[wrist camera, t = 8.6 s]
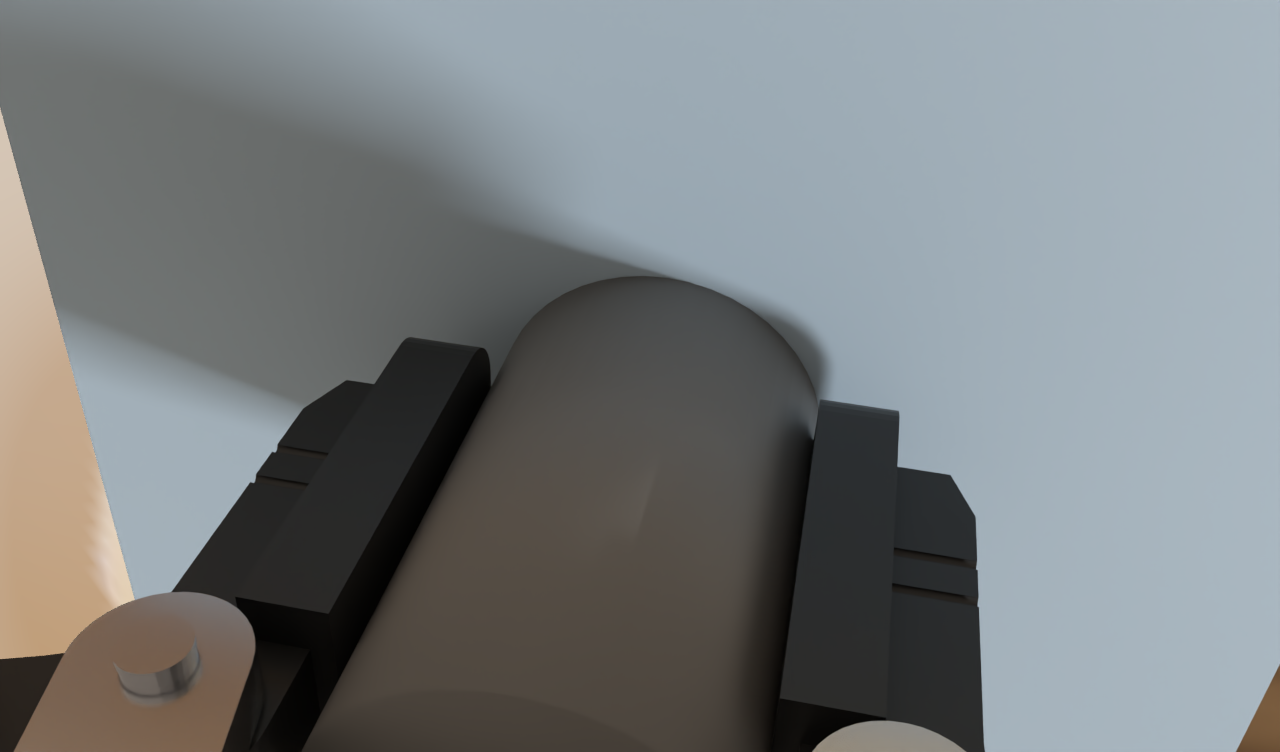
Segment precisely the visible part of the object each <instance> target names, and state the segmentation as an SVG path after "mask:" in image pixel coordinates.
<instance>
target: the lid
mask: <svg viewBox="0 0 1280 752" xmlns="http://www.w3.org/2000/svg"><path fill="white" fill-rule="evenodd" d="M0 108H1V112H2V115H3V119H4V123H5V127H6V130H7V134H8V138H9V141H10V145H11V148H12V152H13V156H14V159H15V163H16V167H17V171H18V174H19V178H20V181H21V185H22V189H23V192H24V196H25V199H26V203H27V207H28V211H29V214H30V218H31V221H32V225H33V229H34V233H35V236H36V240H37V243H38V247H39V251H40V255H41V258H42V262H43V265H44V269H45V272H46V276H47V280H48V284H49V287H50V291H51V295H52V298H53V302H54V306H55V309H56V313H57V317H58V320H59V323H60V328H61V331H62V335H63V339H64V342H65V346H66V349H67V353H68V357H69V360H70V364H71V368H72V371H73V375H74V378H75V382H76V386H77V390H78V393H79V397H80V400H81V404H82V408H83V412H84V415H85V419H86V423H87V426H88V430H89V433H90V437H91V441H92V444H93V448H94V452H95V455H96V459H97V463H98V466H99V470H100V474H101V477H102V481H103V485H104V488H105V492H106V496H107V499H108V503H109V507H110V510H111V514H112V517H113V521H114V525H115V528H116V532H117V536H118V539H119V543H120V547H121V550H122V554H123V558H124V561H125V565H126V569H127V572H128V576H129V580H130V583H131V587H132V591H133V594H134V598H135V600H136V599H139V598H143V597H147V596H151V595H155V594H162V593H169V592H172V590H173V589H174V588H175V586H176V585H177V583H178V582H179V581H180V579H181V578H182V576H183V575H184V574H185V572H186V571H187V569H188V568H189V567H190V565H191V564H192V562H193V561H194V560H195V558H196V557H197V556H198V554H199V553H200V551H201V550H202V549H203V547H204V546H205V544H206V543H207V542H208V540H209V539H210V537H211V536H212V535H213V533H214V532H215V530H216V529H217V528H218V526H219V525H220V524H221V522H222V521H223V519H224V518H225V517H226V515H227V514H228V512H229V511H230V510H231V508H232V507H233V505H234V504H235V503H236V501H237V500H238V498H239V497H240V496H241V494H242V493H243V492H244V490H245V489H246V487H247V486H248V485H249V483H250V482H252V483H254V482H255V479H256V473H257V472H258V471H259V469H260V468H261V466H262V465H263V464H264V462H265V461H266V460H267V458H268V457H269V455H270V454H271V453H272V452H276V451H277V444H278V443H279V441H280V440H281V439H282V437H283V436H284V434H285V433H286V432H287V430H288V429H289V428H290V426H291V425H292V423H293V422H294V421H295V419H296V418H297V416H298V415H299V414H300V412H301V411H302V409H303V408H305V407H306V406H308V405H309V404H311V403H312V402H314V401H315V400H317V399H318V398H320V397H321V396H323V395H324V394H326V393H327V392H329V391H331V390H332V389H334V388H335V387H337V386H338V385H340V384H341V383H343V382H344V381H346V380H351V381H357V382H363V383H370V384H375V382H376V381H377V379H378V378H379V376H380V375H381V373H382V372H383V370H384V369H385V367H386V366H387V364H388V362H389V361H390V359H391V358H392V356H393V355H394V353H395V352H396V350H397V349H398V347H399V346H400V344H401V343H402V342H403V341H404V340H405V339H406V338H408V337H414V338H421V339H428V340H434V341H441V342H448V343H454V344H461V345H468V346H474V347H481V348H484V349H486V351H487V353H488V356H489V360H490V370H491V388H490V390H489V392H488V394H487V396H486V397H485V399H484V401H483V403H482V405H481V407H480V409H479V411H478V413H477V415H476V417H475V419H474V421H473V422H472V424H471V426H470V428H469V430H468V432H467V434H466V436H465V438H464V440H463V442H462V444H461V446H460V447H459V449H458V451H457V453H456V455H455V457H454V459H453V461H452V463H451V465H450V467H449V469H448V471H447V472H446V474H445V476H444V478H443V480H442V482H441V484H440V486H439V488H438V490H437V492H436V494H435V495H434V497H433V499H432V501H431V503H430V505H429V507H428V509H427V511H426V513H425V515H424V517H423V519H422V520H421V522H420V524H419V526H418V528H417V530H416V532H415V534H414V536H413V538H412V540H411V542H410V544H409V545H408V547H407V549H406V551H405V553H404V555H403V557H402V559H401V561H400V563H399V565H398V567H397V569H396V570H395V572H394V574H393V576H392V578H391V580H390V582H389V584H388V586H387V588H386V590H385V592H384V594H383V595H382V597H381V599H380V601H379V603H378V605H377V607H376V609H375V611H374V613H373V615H372V617H371V619H370V620H369V622H368V624H367V626H366V628H365V630H364V632H363V634H362V636H361V638H360V640H359V642H358V644H357V645H356V647H355V649H354V651H353V653H352V655H351V657H350V659H349V661H348V663H347V665H346V667H345V668H344V670H343V672H342V674H341V676H340V678H339V680H338V682H337V684H336V686H335V688H334V690H333V692H332V693H331V695H330V697H329V699H328V701H327V703H326V705H325V707H324V709H323V711H322V713H321V715H320V717H319V718H318V720H317V722H316V724H315V726H314V728H313V730H312V732H311V734H310V736H309V738H308V740H307V742H306V743H305V745H304V747H303V749H302V751H301V752H771V746H772V738H773V731H774V724H775V717H776V709H777V702H778V695H779V688H780V680H781V673H782V666H783V659H784V651H785V644H786V637H787V629H788V622H789V615H790V608H791V600H792V593H793V586H794V579H795V571H796V564H797V557H798V550H799V542H800V535H801V528H802V521H803V513H804V506H805V499H806V492H807V484H808V477H809V470H810V463H811V455H812V448H813V441H814V434H815V428H816V422H817V415H818V409H819V403H820V399H823V400H830V401H836V402H843V403H850V404H856V405H863V406H870V407H876V408H883V409H890V410H896V411H899V416H900V418H899V442H898V464H897V467H903V468H909V469H916V470H922V471H929V472H935V473H941V474H948V475H951V477H952V478H953V480H954V482H955V483H956V485H957V487H958V488H959V490H960V492H961V493H962V495H963V497H964V498H965V500H966V502H967V503H968V505H969V507H970V508H971V510H972V512H973V513H974V515H975V517H976V538H977V566H976V570H978V593H979V598H978V606H977V607H979V621H980V648H981V676H982V703H983V731H984V748H985V752H1236V750H1237V748H1238V746H1239V745H1240V743H1241V741H1242V739H1243V737H1244V735H1245V733H1246V731H1247V729H1248V727H1249V725H1250V723H1251V721H1252V719H1253V717H1254V715H1255V713H1256V711H1257V709H1258V707H1259V705H1260V703H1261V701H1262V699H1263V697H1264V695H1265V693H1266V691H1267V689H1268V687H1269V685H1270V683H1271V681H1272V679H1273V677H1274V675H1275V673H1276V671H1277V669H1278V667H1279V665H1280V0H0Z"/></svg>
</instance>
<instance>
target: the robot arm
mask: <svg viewBox="0 0 1280 752" xmlns="http://www.w3.org/2000/svg"><path fill="white" fill-rule="evenodd" d="M490 388H491V370H490V360H489V356H488V353H487V351H486V349H484V348H481V347H474V346H468V345H461V344H454V343H448V342H441V341H434V340H428V339H421V338H414V337H408V338H406V339H405V340H404V341H403V342H402V343H401V344H400V346H399V347H398V349H397V350H396V352H395V353H394V355H393V356H392V358H391V359H390V361H389V362H388V364H387V366H386V367H385V369H384V370H383V372H382V373H381V375H380V376H379V378H378V379H377V381H376V382H375V384H370V383H363V382H357V381H351V380H346V381H344V382H343V383H341V384H340V385H338V386H337V387H335V388H334V389H332V390H331V391H329V392H327V393H326V394H324V395H323V396H321V397H320V398H318V399H317V400H315V401H314V402H312V403H311V404H309V405H308V406H306V407H305V408H303V409H302V411H301V412H300V414H299V415H298V416H297V418H296V419H295V421H294V422H293V423H292V425H291V426H290V428H289V429H288V430H287V432H286V433H285V434H284V436H283V437H282V439H281V440H280V441H279V443H278V444H277V451H276V452H272V453H271V454H270V455H269V457H268V458H267V460H266V461H265V462H264V464H263V465H262V466H261V468H260V469H259V471H258V472H257V473H256V479H255V482H254V483H252V482H250V483H249V485H248V486H247V487H246V489H245V490H244V492H243V493H242V494H241V496H240V497H239V498H238V500H237V501H236V503H235V504H234V505H233V507H232V508H231V510H230V511H229V512H228V514H227V515H226V517H225V518H224V519H223V521H222V522H221V524H220V525H219V526H218V528H217V529H216V530H215V532H214V533H213V535H212V536H211V537H210V539H209V540H208V542H207V543H206V544H205V546H204V547H203V549H202V550H201V551H200V553H199V554H198V556H197V557H196V558H195V560H194V561H193V562H192V564H191V565H190V567H189V568H188V569H187V571H186V572H185V574H184V575H183V576H182V578H181V579H180V581H179V582H178V583H177V585H176V586H175V588H174V589H173V590H172V592H169V593H162V594H155V595H151V596H147V597H143V598H139V599H136V600H134V601H131V602H128V603H126V604H123V605H121V606H119V607H117V608H115V609H113V610H111V611H109V612H107V613H106V614H104V615H103V616H101V617H100V618H98V619H97V620H95V621H94V622H92V623H91V624H90V625H89V626H88V627H86V628H85V629H84V630H83V631H82V632H81V633H80V634H79V635H78V636H77V637H76V638H75V639H74V641H73V642H72V643H71V644H70V646H69V647H68V649H67V650H66V652H65V653H61V654H54V655H46V656H36V657H23V658H11V659H0V752H301V751H302V749H303V747H304V745H305V743H306V742H307V740H308V738H309V736H310V734H311V732H312V730H313V728H314V726H315V724H316V722H317V720H318V718H319V717H320V715H321V713H322V711H323V709H324V707H325V705H326V703H327V701H328V699H329V697H330V695H331V693H332V692H333V690H334V688H335V686H336V684H337V682H338V680H339V678H340V676H341V674H342V672H343V670H344V668H345V667H346V665H347V663H348V661H349V659H350V657H351V655H352V653H353V651H354V649H355V647H356V645H357V644H358V642H359V640H360V638H361V636H362V634H363V632H364V630H365V628H366V626H367V624H368V622H369V620H370V619H371V617H372V615H373V613H374V611H375V609H376V607H377V605H378V603H379V601H380V599H381V597H382V595H383V594H384V592H385V590H386V588H387V586H388V584H389V582H390V580H391V578H392V576H393V574H394V572H395V570H396V569H397V567H398V565H399V563H400V561H401V559H402V557H403V555H404V553H405V551H406V549H407V547H408V545H409V544H410V542H411V540H412V538H413V536H414V534H415V532H416V530H417V528H418V526H419V524H420V522H421V520H422V519H423V517H424V515H425V513H426V511H427V509H428V507H429V505H430V503H431V501H432V499H433V497H434V495H435V494H436V492H437V490H438V488H439V486H440V484H441V482H442V480H443V478H444V476H445V474H446V472H447V471H448V469H449V467H450V465H451V463H452V461H453V459H454V457H455V455H456V453H457V451H458V449H459V447H460V446H461V444H462V442H463V440H464V438H465V436H466V434H467V432H468V430H469V428H470V426H471V424H472V422H473V421H474V419H475V417H476V415H477V413H478V411H479V409H480V407H481V405H482V403H483V401H484V399H485V397H486V396H487V394H488V392H489V390H490ZM899 418H900V416H899V411H896V410H890V409H883V408H876V407H870V406H863V405H856V404H850V403H843V402H836V401H830V400H823V399H820V403H819V409H818V415H817V422H816V428H815V434H814V441H813V448H812V455H811V463H810V470H809V477H808V484H807V492H806V499H805V506H804V513H803V521H802V528H801V535H800V542H799V550H798V557H797V564H796V571H795V579H794V586H793V593H792V600H791V608H790V615H789V622H788V629H787V637H786V644H785V651H784V659H783V666H782V673H781V680H780V688H779V695H778V702H777V709H776V717H775V724H774V731H773V738H772V746H771V752H985V748H984V731H983V703H982V676H981V648H980V621H979V607H977V606H978V598H979V593H978V570H976V566H977V538H976V517H975V515H974V513H973V512H972V510H971V508H970V507H969V505H968V503H967V502H966V500H965V498H964V497H963V495H962V493H961V492H960V490H959V488H958V487H957V485H956V483H955V482H954V480H953V478H952V477H951V475H948V474H941V473H935V472H929V471H922V470H916V469H909V468H903V467H897V464H898V442H899Z"/></svg>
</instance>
